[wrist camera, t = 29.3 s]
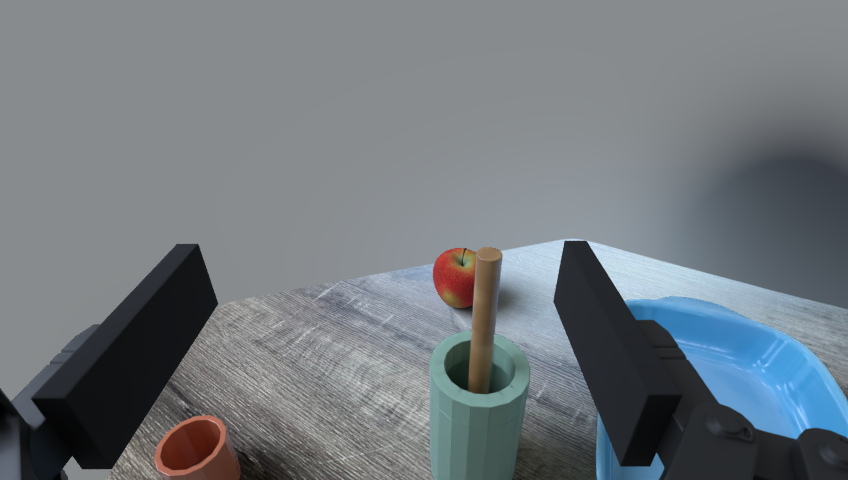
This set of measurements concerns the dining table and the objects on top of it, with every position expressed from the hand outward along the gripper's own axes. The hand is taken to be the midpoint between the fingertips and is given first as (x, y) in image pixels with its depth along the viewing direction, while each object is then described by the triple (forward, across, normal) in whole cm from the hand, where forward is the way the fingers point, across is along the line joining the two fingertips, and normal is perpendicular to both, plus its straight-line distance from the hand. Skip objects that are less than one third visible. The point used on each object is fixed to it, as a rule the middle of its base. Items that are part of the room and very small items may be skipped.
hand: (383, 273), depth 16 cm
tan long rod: (+12, +6, -31) cm, 34 cm away
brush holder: (+10, -20, -32) cm, 39 cm away
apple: (+37, +6, -32) cm, 50 cm away
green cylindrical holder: (+12, +6, -32) cm, 35 cm away
